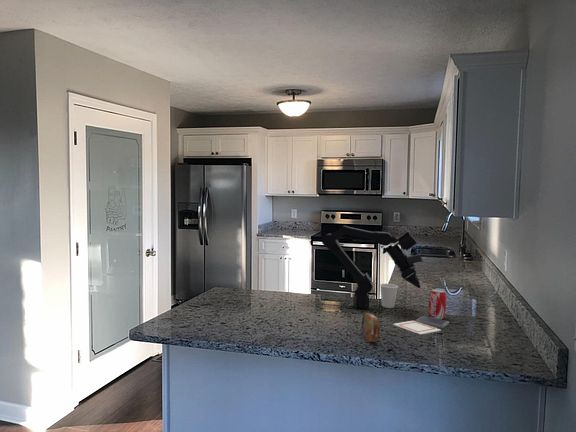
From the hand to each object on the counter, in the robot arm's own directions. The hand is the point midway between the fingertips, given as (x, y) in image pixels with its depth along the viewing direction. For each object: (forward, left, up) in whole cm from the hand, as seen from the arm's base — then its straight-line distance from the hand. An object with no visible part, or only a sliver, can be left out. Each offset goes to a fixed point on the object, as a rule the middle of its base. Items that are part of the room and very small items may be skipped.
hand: (419, 285), depth 200 cm
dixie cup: (-6, +15, -13) cm, 21 cm away
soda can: (+5, -6, -13) cm, 15 cm away
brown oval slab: (-39, -26, -13) cm, 49 cm away
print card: (-13, -18, -13) cm, 25 cm away
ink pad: (-2, -14, -13) cm, 19 cm away
